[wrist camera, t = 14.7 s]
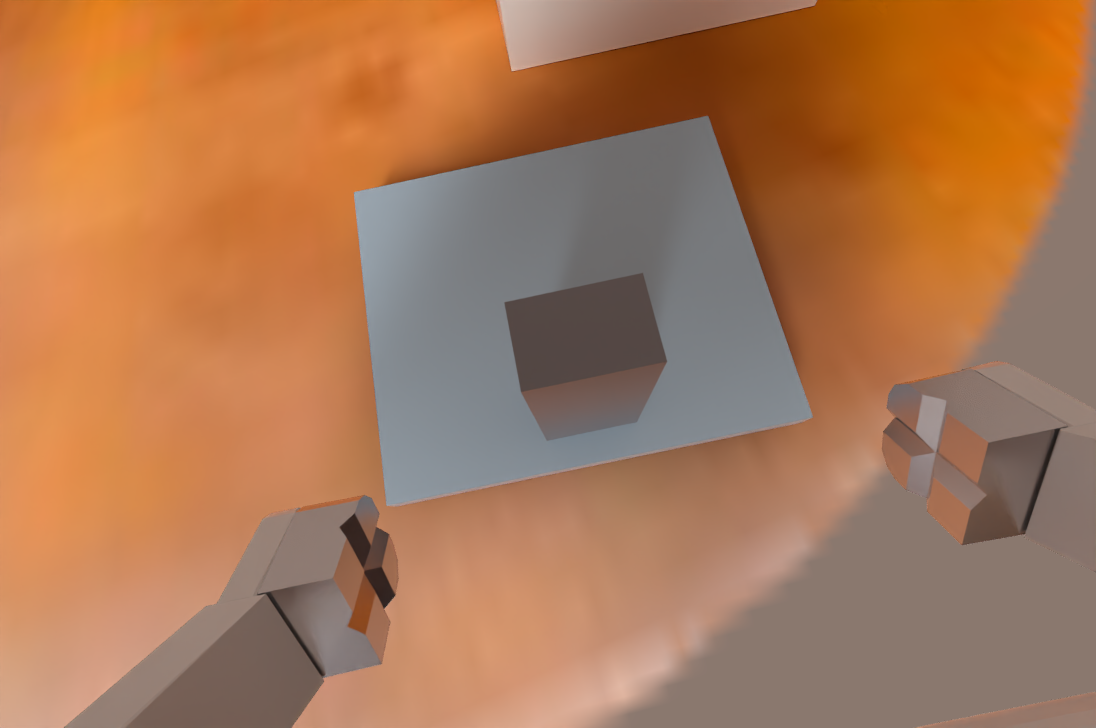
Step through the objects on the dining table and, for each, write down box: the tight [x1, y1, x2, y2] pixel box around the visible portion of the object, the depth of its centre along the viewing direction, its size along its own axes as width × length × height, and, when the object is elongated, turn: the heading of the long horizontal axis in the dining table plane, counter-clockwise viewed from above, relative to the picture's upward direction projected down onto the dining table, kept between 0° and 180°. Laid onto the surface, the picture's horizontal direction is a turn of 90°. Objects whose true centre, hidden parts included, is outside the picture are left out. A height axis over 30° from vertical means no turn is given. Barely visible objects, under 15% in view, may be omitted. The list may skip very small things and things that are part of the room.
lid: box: [354, 116, 813, 506], centre depth 16 cm, size 14×12×9 cm
